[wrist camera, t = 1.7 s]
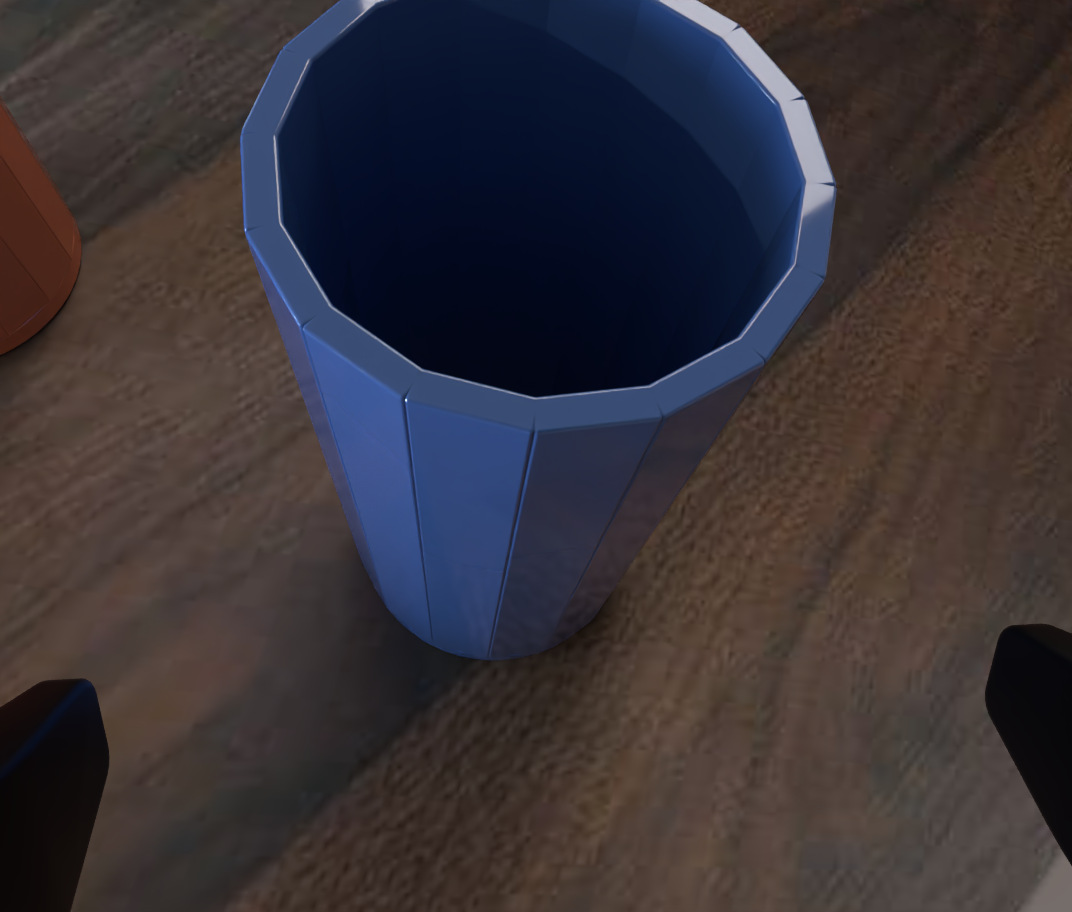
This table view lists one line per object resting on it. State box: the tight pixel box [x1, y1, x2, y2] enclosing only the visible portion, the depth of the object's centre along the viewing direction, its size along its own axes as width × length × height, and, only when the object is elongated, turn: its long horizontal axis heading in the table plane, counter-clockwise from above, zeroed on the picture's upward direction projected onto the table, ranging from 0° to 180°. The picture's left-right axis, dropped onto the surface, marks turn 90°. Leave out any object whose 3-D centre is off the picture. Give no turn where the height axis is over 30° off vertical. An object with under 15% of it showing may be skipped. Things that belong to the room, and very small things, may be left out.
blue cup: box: [240, 0, 837, 661], centre depth 16 cm, size 6×6×13 cm
